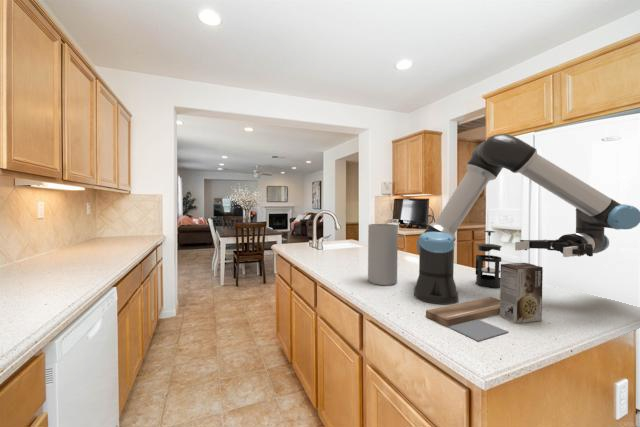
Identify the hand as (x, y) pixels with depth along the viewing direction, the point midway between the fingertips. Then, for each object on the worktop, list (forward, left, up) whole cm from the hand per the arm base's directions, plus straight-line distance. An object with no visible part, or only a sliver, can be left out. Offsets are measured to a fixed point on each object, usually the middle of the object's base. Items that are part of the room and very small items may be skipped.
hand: (538, 249), depth 90 cm
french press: (-27, +15, -20) cm, 37 cm away
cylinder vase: (-49, -23, -20) cm, 58 cm away
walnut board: (-8, -20, -20) cm, 29 cm away
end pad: (+1, -29, -20) cm, 35 cm away
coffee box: (+1, -10, -20) cm, 23 cm away
